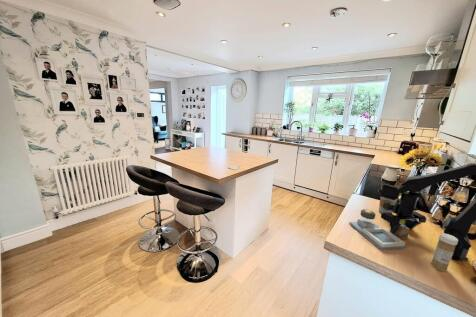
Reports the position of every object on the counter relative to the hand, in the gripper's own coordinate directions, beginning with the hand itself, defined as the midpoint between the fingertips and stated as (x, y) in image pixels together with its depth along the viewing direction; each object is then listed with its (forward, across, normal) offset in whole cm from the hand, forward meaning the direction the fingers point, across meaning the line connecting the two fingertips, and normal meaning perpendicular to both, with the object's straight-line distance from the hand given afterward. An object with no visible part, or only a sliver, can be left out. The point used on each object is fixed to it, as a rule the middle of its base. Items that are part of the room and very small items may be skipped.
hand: (398, 233), depth 91 cm
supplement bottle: (+1, -11, -7) cm, 13 cm away
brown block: (+1, 0, 0) cm, 1 cm away
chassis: (+1, +12, -1) cm, 12 cm away
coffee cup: (+1, -13, -20) cm, 24 cm away
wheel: (-6, +12, -7) cm, 15 cm away
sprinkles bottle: (+1, +3, +19) cm, 19 cm away
